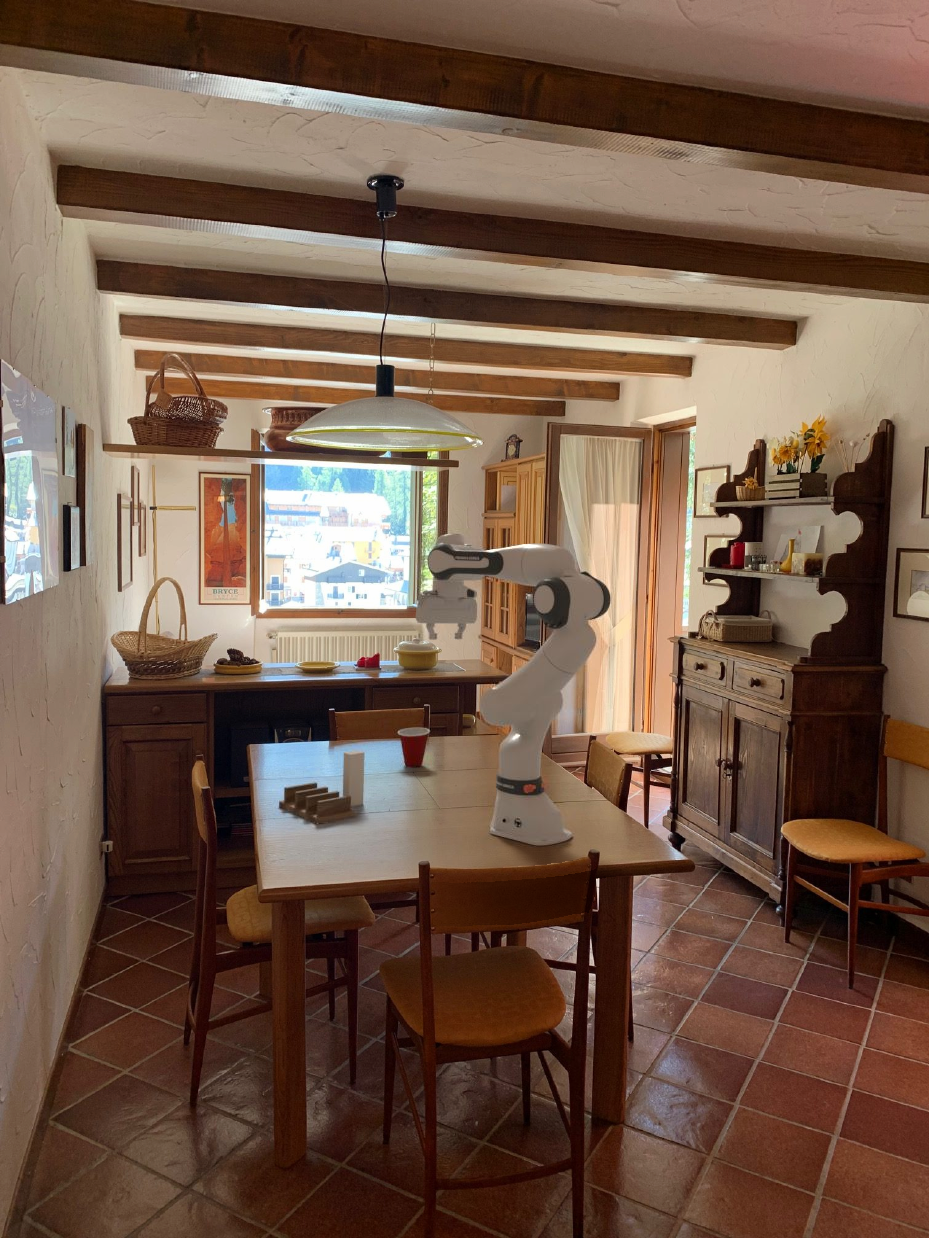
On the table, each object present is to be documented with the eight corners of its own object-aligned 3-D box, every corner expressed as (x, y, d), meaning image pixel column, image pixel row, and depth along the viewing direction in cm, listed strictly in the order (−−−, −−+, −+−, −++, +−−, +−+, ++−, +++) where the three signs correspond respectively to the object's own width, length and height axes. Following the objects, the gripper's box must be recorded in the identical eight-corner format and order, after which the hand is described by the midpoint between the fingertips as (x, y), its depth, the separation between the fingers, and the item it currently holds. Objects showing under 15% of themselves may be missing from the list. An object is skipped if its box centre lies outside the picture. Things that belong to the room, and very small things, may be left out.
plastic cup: (391, 762, 313) (392, 727, 312) (420, 760, 318) (421, 726, 317) (404, 770, 304) (405, 734, 303) (434, 767, 309) (435, 732, 308)
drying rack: (355, 816, 251) (356, 796, 251) (317, 824, 243) (318, 803, 243) (315, 799, 266) (316, 780, 265) (278, 806, 258) (279, 787, 258)
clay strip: (363, 804, 263) (364, 752, 262) (348, 807, 260) (349, 754, 258) (357, 801, 265) (358, 750, 264) (342, 804, 262) (343, 752, 261)
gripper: (426, 590, 255) (424, 640, 255) (481, 592, 268) (479, 639, 269) (412, 589, 260) (410, 638, 260) (467, 591, 273) (465, 638, 273)
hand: (445, 639), depth 265 cm, fingers open, 8 cm apart
